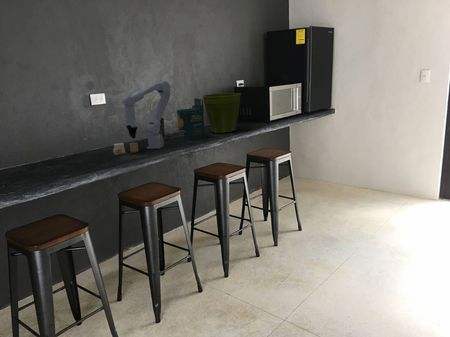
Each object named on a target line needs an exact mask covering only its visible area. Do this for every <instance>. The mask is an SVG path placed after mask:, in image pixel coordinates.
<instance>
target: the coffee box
mask: <svg viewBox="0 0 450 337" xmlns="http://www.w3.org/2000/svg"><path fill="white" fill-rule="evenodd" d="M160 124H161V125H160V131H159V134H162V136H163V142H164V141H166V130H165V129H166V128H165V118H164V117H162V118H161V120H160Z"/></svg>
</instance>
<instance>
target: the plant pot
mask: <svg viewBox="0 0 450 337" xmlns="http://www.w3.org/2000/svg"><path fill="white" fill-rule="evenodd" d="M241 96H242V93H239V92H229V93H228V92H225V93H224V92H221V93H212V94H204V95H202V100H203V105H204V108H205V112H206V116H207V119H208V120H207V121H208V123H209V126H210V129H211V132H212V133H213V132H214V134H226V133H225V132H229V133H233V132H232V131H234V132H236V130H237V123H238V117H239V113H240V112H239V111H240V102H241Z"/></svg>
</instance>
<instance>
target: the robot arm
mask: <svg viewBox="0 0 450 337" xmlns="http://www.w3.org/2000/svg"><path fill="white" fill-rule="evenodd" d="M153 91H157V93H158V94H159V95H160V98H159V101H158V103H157V106H156V108H155V111H154V113H153V116H152V118H151V119H150V120H149V121H148V123H147V124H146V125H145V127H144V128H145V131H146V133H147V142H148V146H147V147H146V149H161V148H163V147H165V144H164V141H163V136H162V134H159V131H160V125H161V124H160V120H161V118H163V115H164V112H165V110H166V108H167V105H168V102H169V100H170V98H171V85H170V83H169V82H168V81H166V80H163V81H162V80H161V81H160V80H157V81H155V82H153V83H151V84H150V85H149V86H147V87H145V88H143V89H142V90H140V89H139V90H135V91H134V92H133V93H130V94H128V96H124V97H123V98H122V101H121V102H122V104H123V106H124V112H125V113H124V115H125V121H126V122H125V123H124V126H126V129H127V131H128V135H129V137H131V139H136V137H137V129H138V127H137V126H136V124H137V122H136V113H135V104H136V103H137V102H139V101H141V100H143V99H144V98H145V96H146V95H147V94H149V93H152V92H153Z"/></svg>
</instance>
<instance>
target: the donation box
mask: <svg viewBox="0 0 450 337" xmlns="http://www.w3.org/2000/svg"><path fill="white" fill-rule="evenodd" d="M193 101H194V105H191V108H182V109H177V110H176V115H177V125H178V126H177V127H178V140H180V141H185V142H191V141H198V139H199V140H205V139H204V138H206V134H205V118H204V113H205V112H204V108H205V107H204V100H203V98H202V99H201V98H197V97H196V98H195V97H194V99H193Z"/></svg>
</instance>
